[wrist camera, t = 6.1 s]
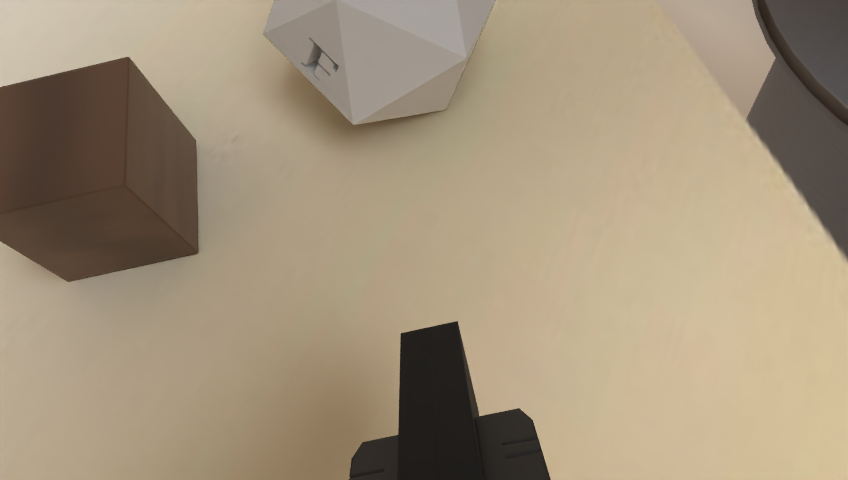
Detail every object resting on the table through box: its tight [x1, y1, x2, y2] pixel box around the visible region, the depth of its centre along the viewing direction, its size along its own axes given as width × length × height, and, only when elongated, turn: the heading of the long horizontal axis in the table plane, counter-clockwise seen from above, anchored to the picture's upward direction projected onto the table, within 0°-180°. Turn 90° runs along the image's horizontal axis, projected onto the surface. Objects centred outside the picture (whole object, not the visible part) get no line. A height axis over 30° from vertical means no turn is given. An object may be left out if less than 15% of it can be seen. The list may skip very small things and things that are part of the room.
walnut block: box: [0, 57, 198, 281], centre depth 28 cm, size 6×6×6 cm
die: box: [263, 0, 496, 125], centre depth 28 cm, size 8×9×10 cm
